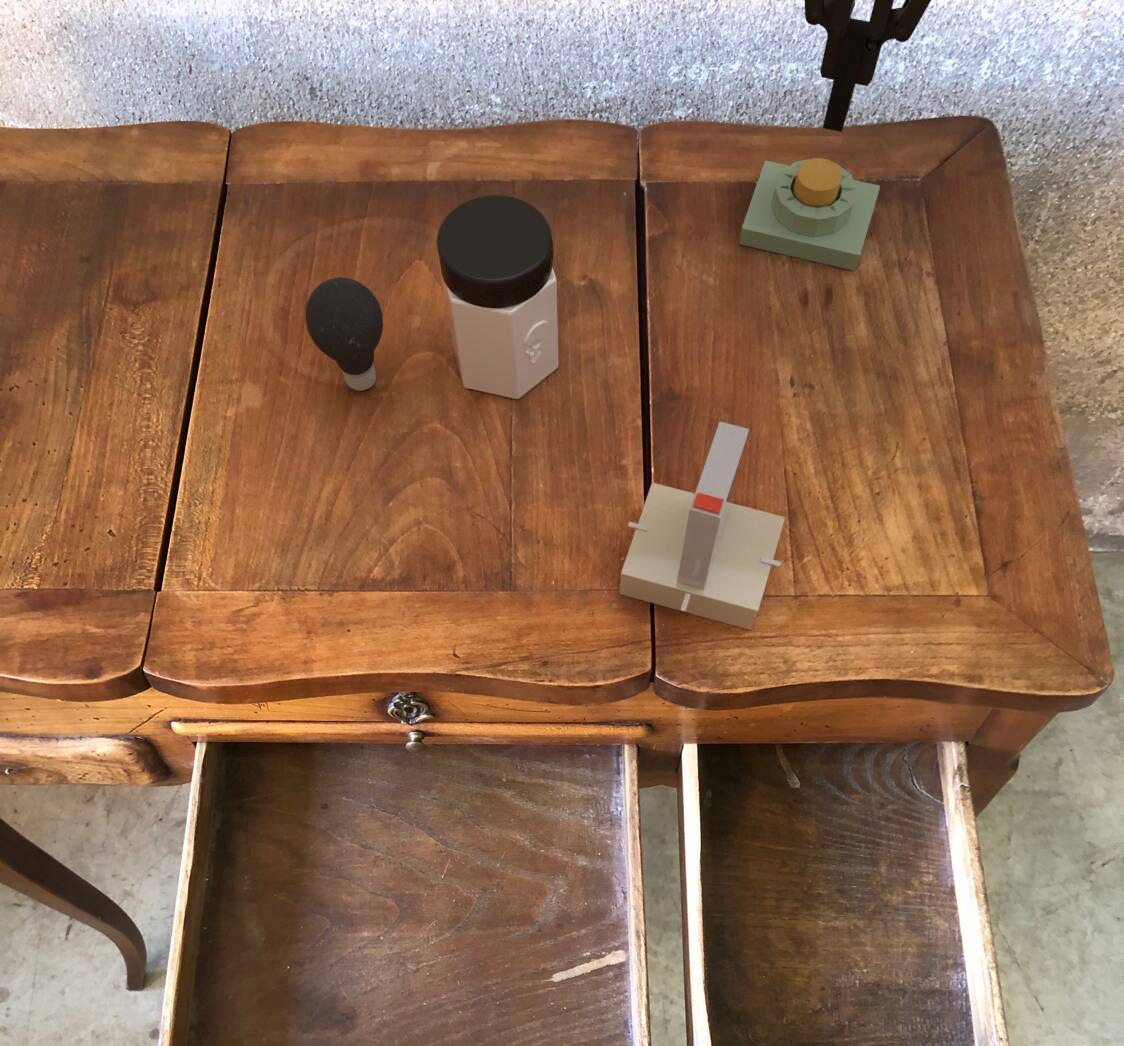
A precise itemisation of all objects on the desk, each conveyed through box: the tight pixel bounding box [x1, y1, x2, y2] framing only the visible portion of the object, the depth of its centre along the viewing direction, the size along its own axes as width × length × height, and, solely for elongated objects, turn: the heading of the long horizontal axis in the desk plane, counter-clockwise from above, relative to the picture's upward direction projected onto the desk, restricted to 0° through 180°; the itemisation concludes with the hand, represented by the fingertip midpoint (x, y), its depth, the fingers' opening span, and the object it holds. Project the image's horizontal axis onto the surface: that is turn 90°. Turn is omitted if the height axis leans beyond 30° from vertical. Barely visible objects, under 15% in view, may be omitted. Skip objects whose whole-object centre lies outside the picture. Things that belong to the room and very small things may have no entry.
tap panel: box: [618, 482, 786, 631], centre depth 76 cm, size 11×11×3 cm
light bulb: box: [304, 276, 384, 391], centre depth 79 cm, size 6×6×10 cm
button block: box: [738, 158, 881, 272], centre depth 87 cm, size 10×8×4 cm
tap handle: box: [677, 421, 750, 589], centre depth 70 cm, size 7×2×9 cm, turn 162°
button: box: [793, 157, 842, 208], centre depth 85 cm, size 4×4×2 cm
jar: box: [436, 194, 560, 400], centre depth 79 cm, size 9×8×12 cm
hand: (836, 117), depth 80 cm, fingers closed
